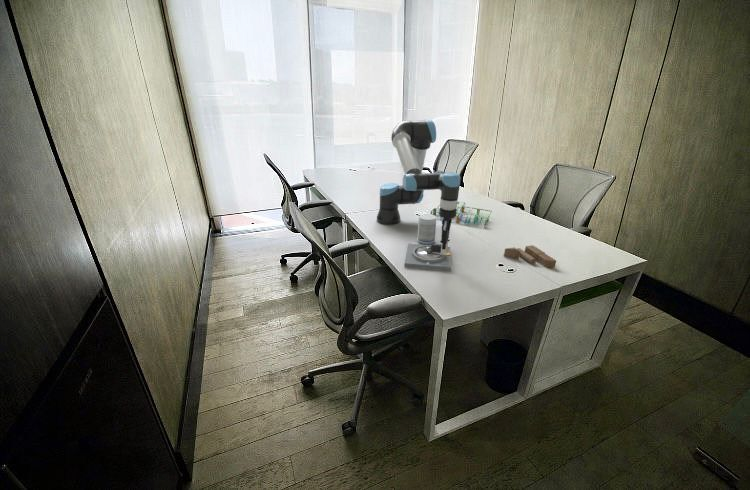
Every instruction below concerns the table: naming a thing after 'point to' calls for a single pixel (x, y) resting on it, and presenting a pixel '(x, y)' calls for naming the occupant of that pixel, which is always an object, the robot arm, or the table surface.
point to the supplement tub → (426, 228)
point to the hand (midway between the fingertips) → (443, 254)
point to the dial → (430, 251)
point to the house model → (467, 216)
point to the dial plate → (424, 263)
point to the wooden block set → (531, 255)
